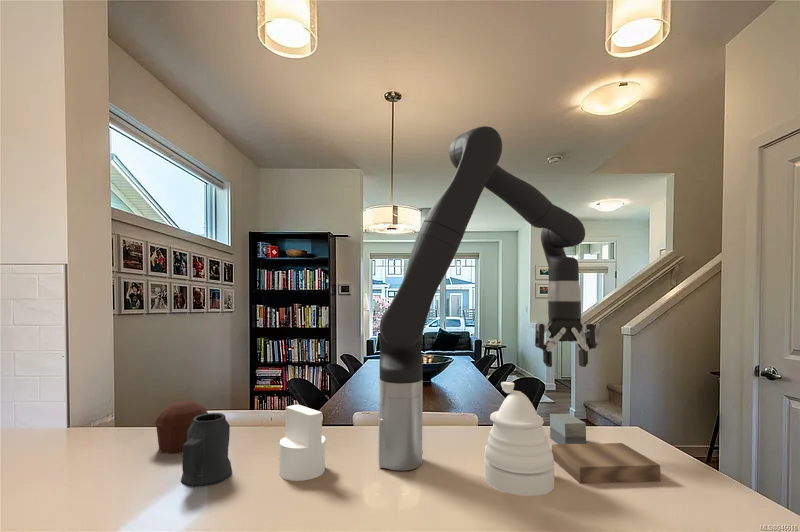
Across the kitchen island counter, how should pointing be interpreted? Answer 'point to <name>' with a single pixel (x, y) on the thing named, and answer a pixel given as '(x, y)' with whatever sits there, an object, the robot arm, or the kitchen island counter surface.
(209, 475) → the mug
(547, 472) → the honey pot
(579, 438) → the block
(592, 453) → the walnut stand
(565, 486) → the kitchen island counter surface
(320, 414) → the base with upright slab
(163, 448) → the muffin
